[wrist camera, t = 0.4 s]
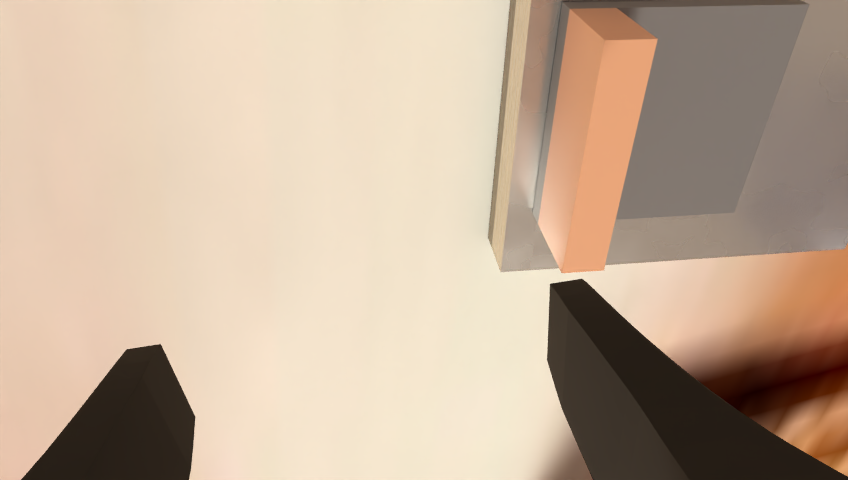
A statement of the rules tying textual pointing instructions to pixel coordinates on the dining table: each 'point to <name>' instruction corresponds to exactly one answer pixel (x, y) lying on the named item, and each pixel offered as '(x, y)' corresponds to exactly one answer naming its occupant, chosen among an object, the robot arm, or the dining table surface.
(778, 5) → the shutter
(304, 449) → the dining table surface
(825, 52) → the socket plate
